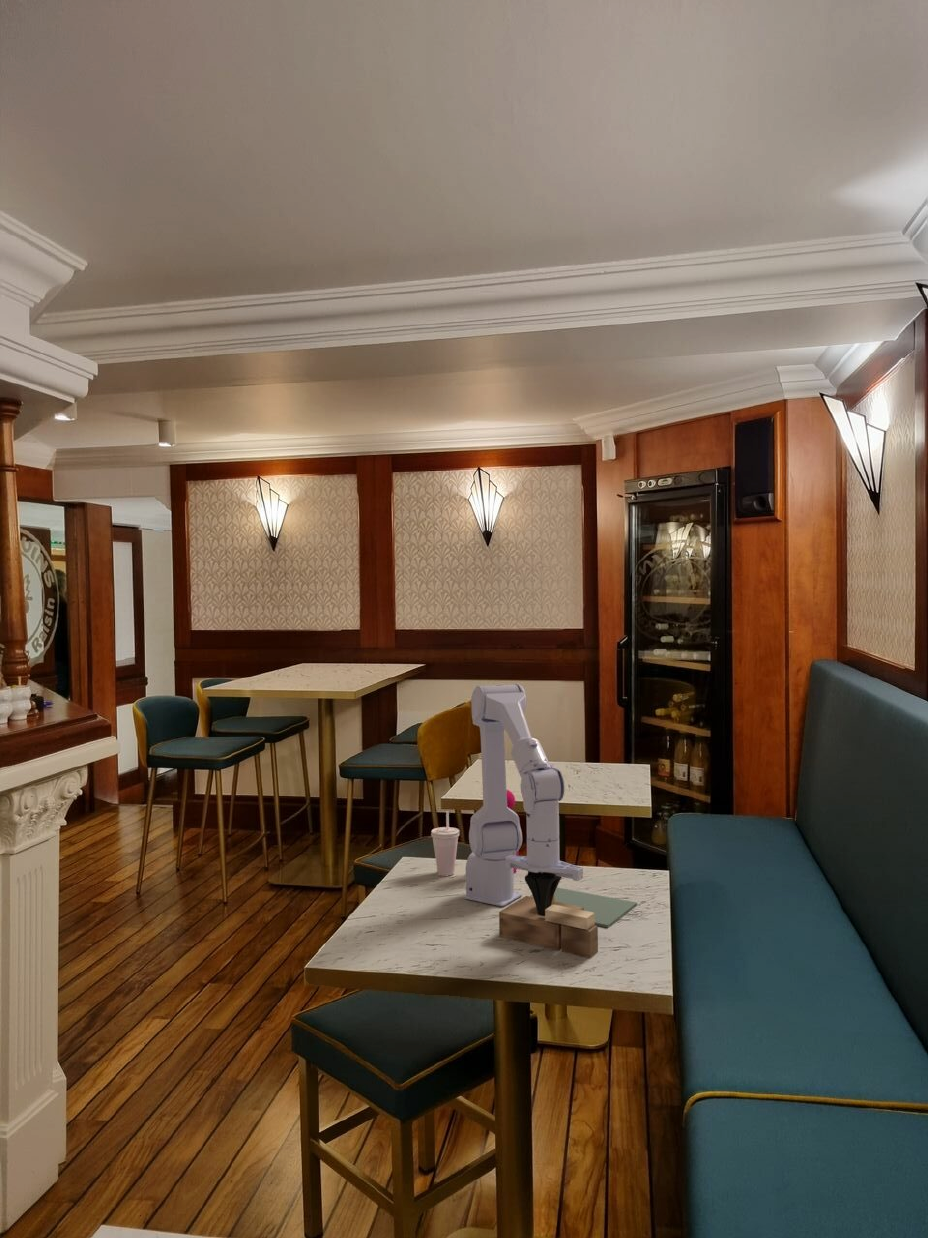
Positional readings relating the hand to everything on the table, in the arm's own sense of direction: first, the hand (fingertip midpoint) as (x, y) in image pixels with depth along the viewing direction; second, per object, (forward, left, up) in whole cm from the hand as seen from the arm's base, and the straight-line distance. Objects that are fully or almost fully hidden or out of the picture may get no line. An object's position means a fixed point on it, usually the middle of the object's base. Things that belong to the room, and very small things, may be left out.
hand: (543, 914), depth 153 cm
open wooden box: (+1, +4, -5) cm, 6 cm away
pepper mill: (-27, +32, -5) cm, 42 cm away
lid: (-2, +4, -2) cm, 5 cm away
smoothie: (-37, +24, -5) cm, 44 cm away
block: (+5, 0, -1) cm, 5 cm away
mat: (-3, +20, -5) cm, 20 cm away
